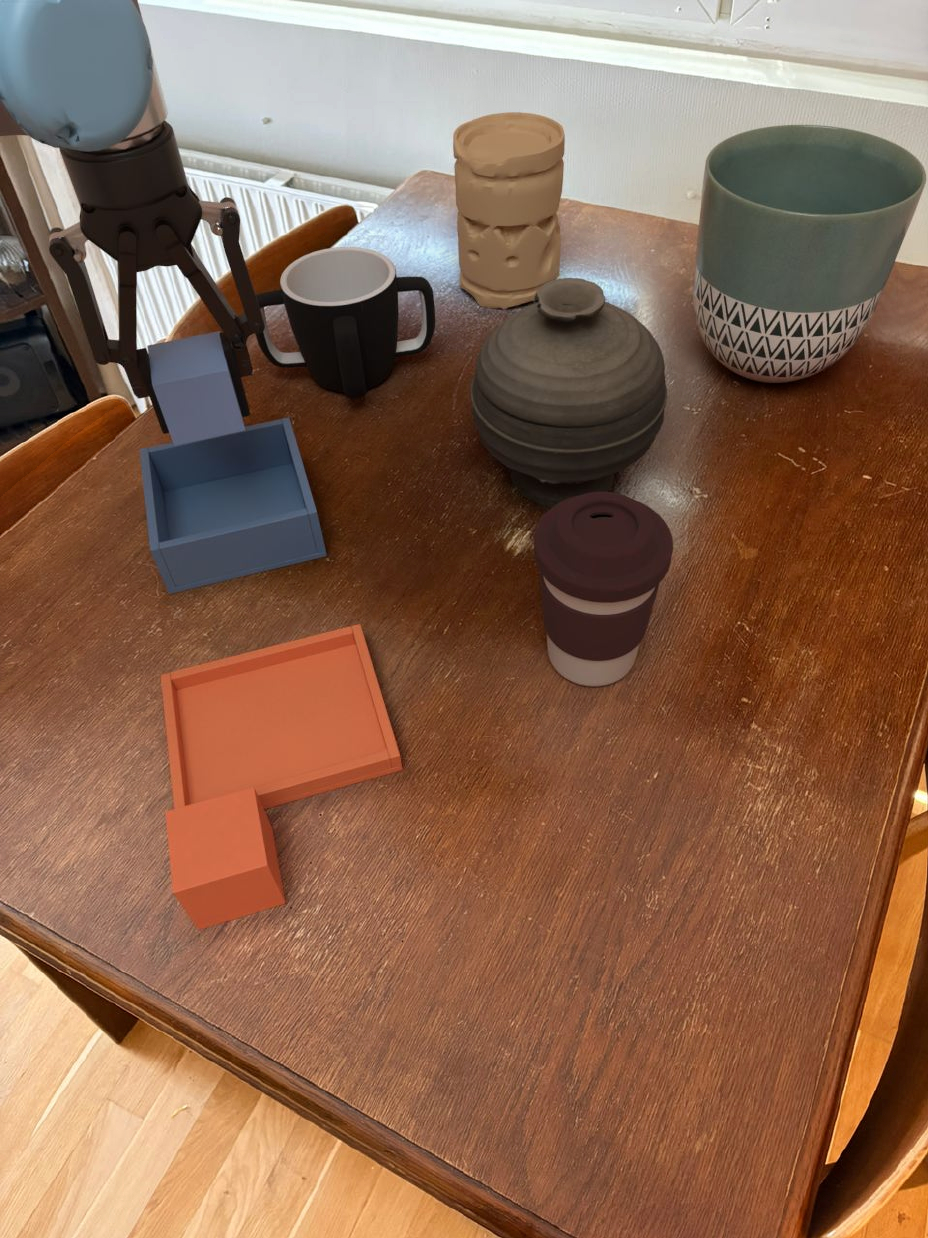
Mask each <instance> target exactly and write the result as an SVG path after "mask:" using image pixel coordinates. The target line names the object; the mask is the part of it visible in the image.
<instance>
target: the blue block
mask: <svg viewBox="0 0 928 1238" xmlns="http://www.w3.org/2000/svg"><path fill="white" fill-rule="evenodd" d="M219 333H221V332H220V331H218V330H217V331H214V332H208V333H204V334H198V335H194V336H188V337H183V338H178V339H173V340H168V341H162V342H158V343H152V344H148V345H147V346H146V348H147V352H148V355H149V361H150V369H151V379H152V386H153V389H154V392H155V394H156V397H157V400H158V403H159V405H160V408H161V411H162V413H163V416H164V419H165V422H166V424H167V427H168V430H169V433H168V434H169V435H170V439H171V440H172V442H173V444H174V446H176V445H181V444H186V443H190V442H195V441H199V440H204V439H209V438H213V437H218V436H222V435H227V434H232V433H236V432H241V431H245V427H246V426H245V422H244V417H242V414H241V410H240V407H239V403H238V400H237V396H236V393H235V389H234V386H233V382H232V379H231V375H230V372H229V368H228V365H227V361H226V359H225V355H224V352H223V348H222V343H221V339H220V335H219Z"/></svg>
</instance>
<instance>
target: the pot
mask: <svg viewBox="0 0 928 1238" xmlns="http://www.w3.org/2000/svg"><path fill="white" fill-rule="evenodd" d="M606 300H607V299H606V296H605V295H604V290H603V288H602V287H601V286H600V285H598V283H596V282H593V281H590V280H586V279H585V278H578V277H564V278H557V279H556V280H553V281H550V282H548V283H546V284H544V285H542V286H541V287H540V288H539V289H538V290H537V292H536V295H535V296H534V301H533V303H532V304H530V305H527V306H525V307H523V308H522V309H520V310H519V311H517V312H515V313H514V314H512V315H511V316H509V317H508V318H506V319H505V320H503V322H501V323H500V324H499V326H498V327H496V328H495V330H494V331H492V333H491V334H490V335H489V336H488V337H487V339H485V341H484V342H483V345H482V347H481V349H480V350H479V353H478V355H477V358H476V363H475V371H474V373H473V377H472V380H471V383H470V386H469V387H470V388H469V394H470V395H469V397H470V403H471V405H472V407H471V409H472V410H471V413H472V420H473V423H474V426H475V428H476V432H477V435H478V438H479V441H480V443H481V444H482V445H483V447H484V449H485V450H486V451H487V452H488V453H489V454H490V455H491V456H492V457H493V458H495V459H496V460H497V461H498V462H500V463H501V464H502V465H504V466H505V467H506V468H508V469H510V470H511V471H510V477H511V479H512V483H513V485H514V488H516V490H517V491H518V492H519V493H520V494H521V496H522V497H524V498H526V499H527V500H528V501H531V502H532V503H534V504H537V505H539V506H542V507H545V508H548V509H551V508H552V507H554V506H555V505H557V504H558V503H560V502H562V501H564V500H567V499H569V498H572V497H576V496H580V495H583V494H586V493H592V492H610V490H611V488H612V487H613V485H614V480H615V474H616V473H619V472H621V471H623V470H625V469H627V468H628V467H631V466H632V465H633V464H635V463H637V462H638V461H639V460H640V459H641V458H642V457H644V456H645V455H646V453H647V452H648V451H649V450H650V448H651V447H652V446H653V445H652V444H653V443H654V442H655V439H656V437H657V435H658V434H659V433H660V430H661V428H662V426H663V423H664V419H665V409H666V407H667V401H668V388H667V384H666V383H667V382H666V374H665V370H666V365H665V359H664V354H663V352H662V349H661V347H660V345H659V343H658V342H657V340H656V338H655V337H654V335H653V334H652V333H651V331H650V330H649V329H648V328H647V327H646V325H644V323H642V322H641V321H640V320H639V319H637V318H636V317H635V316H634V315H632V314H631V313H629V312H627V311H626V310H624V309H622V308H620V307H618V306H617V305H615V304H612V303H609V302H607V301H606Z"/></svg>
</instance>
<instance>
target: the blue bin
mask: <svg viewBox="0 0 928 1238" xmlns="http://www.w3.org/2000/svg"><path fill="white" fill-rule="evenodd" d="M139 459H140V467H141V476H142V487H143V497H144V504H145V505H144V507H145V515H146V524H147V534H148V543H149V551H150V554H151V557H152V558H153V561H154V563H155V566H156V568H157V570H158V572H159V575H160V577H161V579H162V581H163V584H164V586H165V588H166V590H167V593H168V595H172V594H177V593H181V592H184V591H185V592H186V591H188V590H193V589H197V588H202V587H205V586H210V585H215V584H218V583H222V582H227V581H230V580H234V579H238V578H242V577H247V576H250V575H255V574H259V573H263V572H267V571H272V570H275V569H276V570H277V569H280V568H283V567H288V566H292V565H297V564H299V563H300V564H301V563H304V562H310V561H312V560H317V559H320V558H326V557H328V555H327V553H328V552H327V549H326V545H325V541H324V536H323V532H322V528H321V523H320V518H319V514H318V510H317V506H316V503H315V499H314V496H313V493H312V490H311V486H310V483H309V479H308V476H307V472H306V469H305V466H304V462H303V458H302V456H301V452H300V448H299V446H298V442H297V438H296V434H295V431H294V428H293V424H292V421H291V417H290V416H288V417H283V418H279V419H275V420H269V421H266V422H260V423H256V424H251V425H246V426H245V431H241V432H236V433H232V434H227V435H222V436H218V437H213V438H209V439H204V440H199V441H195V442H190V443H186V444H181V445H176V446H174V444H173V441H172V442H167V443H163V444H159V445H154V446H150V447H144V448H140V449H139Z"/></svg>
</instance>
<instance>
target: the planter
mask: <svg viewBox="0 0 928 1238" xmlns="http://www.w3.org/2000/svg"><path fill="white" fill-rule="evenodd" d="M702 179H703V180H702V189H701V196H700V197H701V198H700V200H701V201H700V211H699V221H698V231H697V238H696V248H695V249H696V250H695V261H694V271H693V273H694V274H693V281H692V302H693V312H694V313H693V314H694V317H695V323H696V327H697V331H698V334H699V336H700V338H701V340H702V342H703V343H704V345H705V347H706V348H707V350H708V351H709V352H710V354H712V356H713V357H714V358H715V359H716V360H717V361H718V362H719V363H720V364H721V365H723V366H724V367H725V368H727V369H728V370H729V371H731V372H733V373H734V374H736V375H738V376H740V377H742V378H745V379H749V380H751V381H755V382H760V383H766V384H767V383H769V384H780V383H781V384H783V383H791V382H796V381H799V380H802V379H806V378H808V377H811V376H814V375H816V374H818V373H820V372H822V371H824V370H826V369H828V368H830V367H832V365H834V364H835V363H836V362H838V361H839V360H840V359H842V358H843V357H844V356H845V355H846V354H847V353H848V352H849V351H851V349H852V347H854V345H855V344H856V343H857V341H858V340H859V338H860V337H861V335H863V334H864V331H865V329H867V326H868V325H869V323H870V322H871V320H872V317H873V316H874V314H875V311H876V309H877V308H878V304H879V302H880V299H881V297H882V294H883V293H884V290H885V287H886V285H887V282H888V280H889V278H890V276H891V273H892V270H893V267H894V266H895V262H896V260H897V257H898V256H899V253H900V249H901V247H902V245H903V243H904V239H905V237H906V236H907V233H908V230H909V228H910V226H911V223H912V221H913V218H914V216H915V213H916V211H917V208H918V206H919V203H920V200H921V198H922V195H923V192H924V190H925V186H926V183H927V172H926V169H925V167H924V165H923V163H922V162H921V161H920V160H919V159H918V157H917V156H915V155H914V154H913V153H912V152H910V151H909V150H907V149H906V148H904V147H902V146H901V145H899V144H897V143H895V142H893V141H891V140H888V139H886V138H883V137H880V136H877V135H875V134H871V133H868V132H864V131H860V130H855V129H850V128H846V127H845V128H844V127H838V126H830V125H819V124H783V125H773V126H766V127H760V128H755V129H750V130H747V131H743V132H739V133H737V134H735V135H732V136H730V137H728V138H725V139H724V140H722V141H720V142H719V143H718V144H716V145H715V146H714V147H713V148H712V149H711V150H710V151H709V153H708V154H707V157H706V159H705V164H704V171H703V178H702Z"/></svg>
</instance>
